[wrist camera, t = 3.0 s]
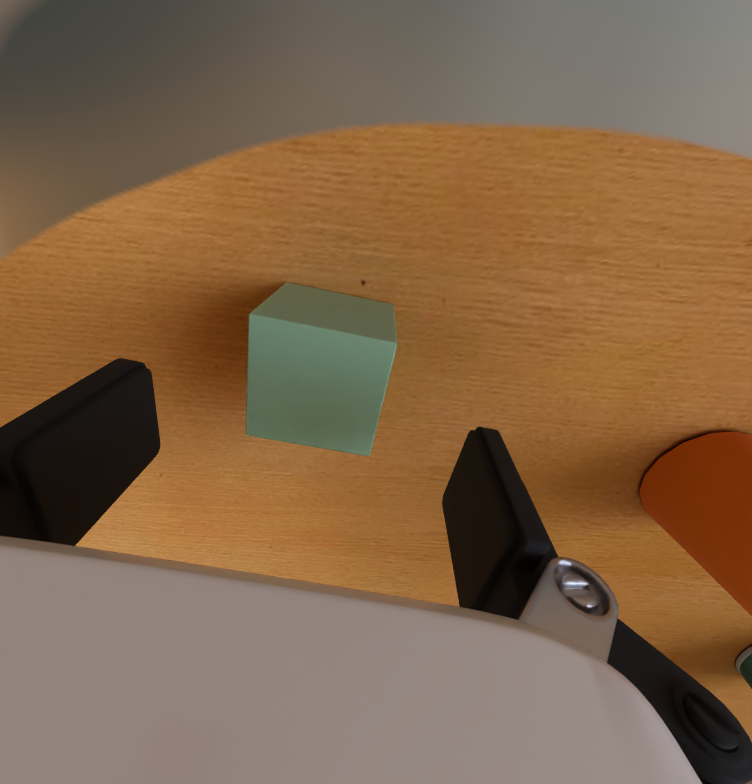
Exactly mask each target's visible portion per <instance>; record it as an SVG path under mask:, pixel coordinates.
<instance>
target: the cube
mask: <svg viewBox="0 0 752 784" xmlns="http://www.w3.org/2000/svg"><path fill="white" fill-rule="evenodd" d="M396 348H397V336H396V325H395V314H394V305H393V304H389V303H384V302H380V301H375V300H370V299H365V298H360V297H355V296H351V295H346V294H341V293H336V292H331V291H327V290H322V289H317V288H312V287H307V286H303V285H298V284H293V283H288V282H286V283H285V284H284V285H282V286H281V287H280V288H279V289H278V290H276V291H275V292H274V293H273V294H272V295H271V296H269V297H268V298H267V299H266V300H265V301H264V302H262V303H261V304H260V305H259V306H258V307H257V308H255V309H254V310H253V311H252V312H251V313H250V314H249V324H248V362H247V400H246V435H248V436H254V437H259V438H265V439H271V440H277V441H283V442H288V443H294V444H300V445H306V446H312V447H317V448H323V449H329V450H335V451H341V452H346V453H352V454H358V455H364V456H369V455H370V453H371V449H372V445H373V441H374V437H375V433H376V429H377V425H378V421H379V417H380V412H381V408H382V404H383V400H384V396H385V392H386V388H387V384H388V380H389V376H390V372H391V368H392V364H393V360H394V356H395V352H396Z"/></svg>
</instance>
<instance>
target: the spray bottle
mask: <svg viewBox="0 0 752 784" xmlns="http://www.w3.org/2000/svg"><path fill="white" fill-rule="evenodd" d="M639 493H640V497H641V501H642V505H643V508H644V510H645V511H646V512H647V513H648V514H649V515H650V516H651V517H652V518H653V519H654V520H655V521H656V522H657V523H658V524H659V525H660V526H661V527H662V528H663V529H664V530H665V531H666V532H667V533H668V534H669V535H670V536H671V537H673V538H674V539H675V540H676V541H677V542H678V543H679V544H680V545H681V546H682V547H683V548H684V549H685V550H686V551H687V552H688V553H689V554H690V555H691V556H692V557H693V558H694V559H695V560H696V561H697V562H698V563H699V564H700V565H701V566H702V567H703V568H704V569H705V570H706V571H707V572H708V573H709V574H710V575H711V576H712V577H713V578H714V579H715V580H716V581H717V582H718V583H719V584H720V585H721V586H722V587H723V588H724V589H725V590H726V591H727V592H728V593H729V594H730V595H731V596H732V597H733V598H734V599H735V600H736V601H737V602H738V603H739V604H740V605H741V606H742V607H743V608H744V609H745V610H746V611H747V612H748V613H749V614H750V615H751V616H752V435H749V434H745V433H742V432H738V431H733V432H721V433H710V434H707V435H704V436H701V437H698V438H695V439H692V440H689V441H687V442H684V443H682V444H680V445H679V446H677V447H676V448H674V449H673V450H671V451H669V452H668V453H666V454H665V455H663V456H662V457H660V458H659V459H658V460H657V462H656V463H655V464H654V465H653V466H652V467H651V468H650V470H649V471H648V472H647V473H646V474H645V476H644V479H643V482H642V485H641V488H640V491H639Z"/></svg>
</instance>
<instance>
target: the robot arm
mask: <svg viewBox="0 0 752 784" xmlns="http://www.w3.org/2000/svg"><path fill="white" fill-rule="evenodd" d="M159 449H160V437H159V429H158V421H157V413H156V405H155V396H154V388H153V380H152V373H151V371H150V370H149V369H147V368H146V366H145V364H144V363H142V362H138V361H133V360H127V359H122V358H119V359H116V360H114V361H112V362H111V363H109V364H107V365H106V366H104V367H102V368H101V369H99V370H97V371H95V372H94V373H92V374H90V375H89V376H87V377H85V378H84V379H82V380H80V381H78V382H77V383H75V384H73V385H72V386H70V387H68V388H67V389H65V390H63V391H61V392H60V393H58V394H56V395H55V396H53V397H51V398H50V399H48V400H46V401H44V402H43V403H41V404H39V405H38V406H36V407H34V408H33V409H31V410H29V411H28V412H26V413H24V414H22V415H21V416H19V417H17V418H16V419H14V420H12V421H11V422H9V423H7V424H5V425H4V426H2V427H0V784H752V743H751V740H750V738H749V736H748V735H747V733H746V732H745V730H744V729H743V727H742V726H741V724H740V723H739V721H738V720H737V719H736V718H735V716H734V715H733V714H732V713H731V712H730V711H729V710H728V708H727V707H726V706H725V705H724V704H723V703H722V702H721V701H720V700H719V699H717V698H716V697H715V696H714V695H713V694H712V693H711V692H710V691H708V690H707V689H706V688H705V687H703V686H702V685H701V684H700V683H698V682H697V681H696V680H695V679H693V678H692V677H691V676H690V675H688V674H687V673H686V672H685V671H683V670H682V669H681V668H680V667H678V666H677V665H676V664H674V663H673V662H672V661H671V660H669V659H668V658H667V657H666V656H664V655H663V654H662V653H661V652H659V651H658V650H657V649H656V648H654V647H653V646H652V645H651V644H649V643H648V642H647V641H646V640H644V639H643V638H642V637H641V636H639V635H638V634H637V633H635V632H634V631H633V630H632V629H630V628H629V627H628V626H627V625H625V624H624V623H623V622H622V621H620V620H619V619H618V604H617V601H616V598H615V595H614V594H613V592H612V591H611V589H610V588H609V586H608V585H607V584H606V583H605V581H604V580H603V579H602V578H601V577H600V576H599V575H598V574H597V573H595V572H594V571H593V570H592V569H590V568H589V567H588V566H586V565H584V564H582V563H581V562H579V561H576V560H573V559H570V558H565V557H558V555H557V553H556V551H555V549H554V547H553V545H552V542H551V540H550V538H549V536H548V534H547V532H546V530H545V528H544V525H543V523H542V521H541V519H540V517H539V515H538V513H537V511H536V508H535V506H534V504H533V502H532V500H531V498H530V496H529V494H528V491H527V489H526V487H525V485H524V483H523V482H522V480H521V478H520V476H519V474H518V471H517V469H516V467H515V465H514V463H513V461H512V459H511V456H510V454H509V452H508V450H507V448H506V446H505V444H504V442H503V439H502V437H501V435H500V433H499V431H498V430H494V429H489V428H484V427H477V428H476V430H475V431H474V430H471V431H470V432H469V433H468V436H467V438H466V440H465V443H464V445H463V448H462V450H461V453H460V455H459V458H458V460H457V463H456V465H455V467H454V470H453V472H452V475H451V477H450V480H449V482H448V485H447V487H446V490H445V492H444V495H443V501H442V505H443V512H444V517H445V523H446V529H447V535H448V541H449V546H450V552H451V558H452V564H453V570H454V575H455V581H456V587H457V593H458V599H459V605H460V607H457V606H451V605H446V604H440V603H434V602H429V601H423V600H418V599H412V598H406V597H400V596H394V595H387V594H381V593H375V592H369V591H362V590H356V589H350V588H344V587H338V586H331V585H325V584H319V583H313V582H306V581H300V580H294V579H287V578H281V577H274V576H268V575H262V574H255V573H249V572H242V571H236V570H229V569H223V568H216V567H210V566H203V565H197V564H190V563H184V562H177V561H171V560H164V559H158V558H151V557H144V556H138V555H131V554H124V553H117V552H111V551H104V550H97V549H91V548H84V547H77V546H75V545H76V544H77V543H78V542H79V541H80V540H81V538H82V537H83V536H84V535H85V534H86V533H87V532H88V531H89V530H90V529H91V527H92V526H93V525H94V524H95V523H96V522H97V521H98V520H99V519H100V517H101V516H102V515H103V514H104V513H105V512H106V511H107V510H108V509H109V508H110V506H111V505H112V504H113V503H114V502H115V501H116V500H117V499H118V498H119V497H120V495H121V494H122V493H123V492H124V491H125V490H126V489H127V488H128V487H129V485H130V484H131V483H132V482H133V481H134V480H135V479H136V478H137V477H138V476H139V474H140V473H141V472H142V471H143V470H144V469H145V468H146V467H147V466H148V464H149V463H150V462H151V461H152V460H153V459H154V458H155V457H156V455H157V454H158V452H159Z"/></svg>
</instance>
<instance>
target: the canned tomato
mask: <svg viewBox="0 0 752 784" xmlns="http://www.w3.org/2000/svg"><path fill="white" fill-rule="evenodd" d="M736 669H737V671H738V672H739V673H740V674H741V675H742V676H743V678H744V679H745V680H746V682H747V683H748V684H749V686H750V687H751V688H752V646H751V647H749V648H748V649H746V650H745V651H744V652H742V653H741V655H740V656H739V657H738V658H737V660H736Z"/></svg>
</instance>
